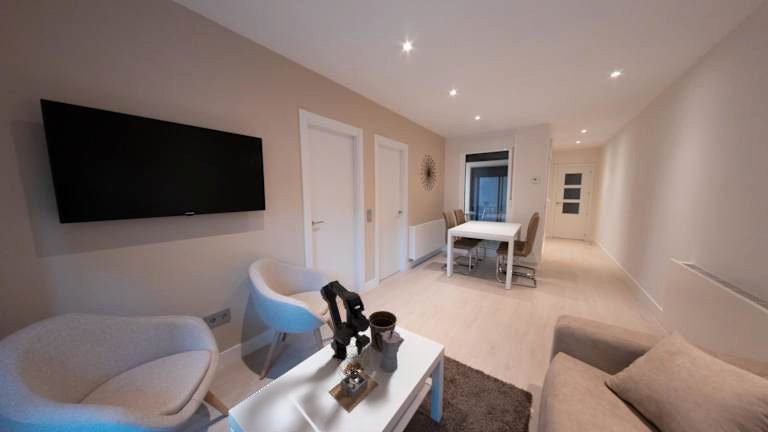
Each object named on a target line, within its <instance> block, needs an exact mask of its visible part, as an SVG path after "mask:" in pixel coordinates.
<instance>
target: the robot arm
mask: <svg viewBox="0 0 768 432" xmlns="http://www.w3.org/2000/svg"><path fill="white" fill-rule="evenodd" d="M319 292H320V295H321V297H322V300H323V301H325V302H326V304H327V307H328V312H329V314H330V319H331V322H332V327H333V330H334V331H333V336H332V339H333V341H331V342H330V348H331V349H332V350H333V352H334V353H333V355H331V357H332V359H334V360H337V361H338V360H339V361H340V360H341V361H345V360H346V359H347V358H348V352H347V347H349V346H350V345H351V341H352V339H353V338H354V339H355V341H354V344H355V345H354V346H355V347H356V349H357V351H356V352H357V356H360V355H361V353H362V351H363V350H364V348H365V347H366V346H368V345H369V344H371V337H370V336H367V335H366V334H365V332H367V330H368V329H370V322H369V320H368V318H367V316H366V315H365V314H363V312H364V311H365V310H366V309H365V305H364V302H363V300H362V298H361V295H359V293H356V292H354V291H349V290H348V288H346V287H344V286H343V285H342V284H341V283H340V281H339V280H333V281H329V282H328V283H327V284H325V285H324V286H322V287H321V288H320V291H319ZM338 297H339V299H341V301H342V305H343V307H344V309H345V314H346V315H345V318H346V319H345V320H346V321H342V317H341V314H340V310H339V306H338V303H337V298H338ZM360 333H364V334H360ZM345 358H346V359H345Z"/></svg>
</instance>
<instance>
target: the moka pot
mask: <svg viewBox="0 0 768 432" xmlns="http://www.w3.org/2000/svg"><path fill="white" fill-rule="evenodd" d="M377 335H378V336H380V337H382V343H383V352H382V354H381V359H380V369H381V370H382V371H383V372H386V373H393V372H395V371H397V370H398V365H399V364H398V352H399V349H400V347H401V345H402V344H403V342H405V339H404V337H401V334H400V333H399V332H397V331H396V330H394V331H386V332H384V333H382V332H381V333H380V332H377V333H376V334H375V335H374V338H375V342H376V345H377V348H378V349H382V348H381V347H379V345H378V341H377V337H376V336H377Z"/></svg>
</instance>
